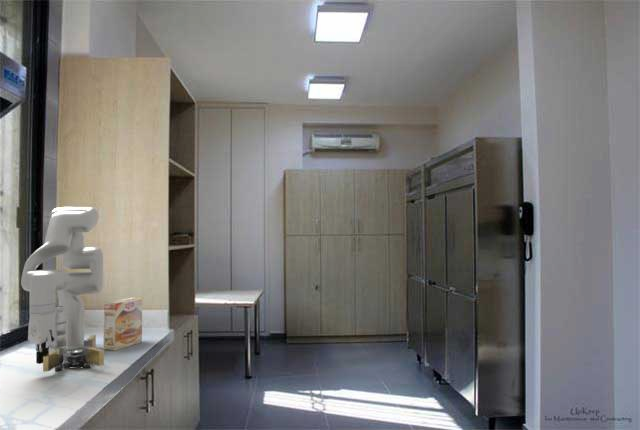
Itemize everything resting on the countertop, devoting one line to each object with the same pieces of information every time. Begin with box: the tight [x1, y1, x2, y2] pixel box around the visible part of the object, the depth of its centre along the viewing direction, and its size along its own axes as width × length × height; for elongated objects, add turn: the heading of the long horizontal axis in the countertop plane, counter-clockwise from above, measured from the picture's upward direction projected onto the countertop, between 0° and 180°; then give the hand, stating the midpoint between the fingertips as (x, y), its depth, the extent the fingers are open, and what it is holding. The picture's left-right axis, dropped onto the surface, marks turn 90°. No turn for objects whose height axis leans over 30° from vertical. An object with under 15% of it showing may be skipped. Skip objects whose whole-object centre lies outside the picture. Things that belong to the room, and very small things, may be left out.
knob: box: [84, 334, 97, 348], centre depth 168 cm, size 11×3×8 cm, turn 17°
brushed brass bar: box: [42, 348, 64, 373], centre depth 148 cm, size 11×3×8 cm, turn 8°
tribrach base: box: [62, 348, 83, 370], centre depth 157 cm, size 9×10×5 cm
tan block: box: [82, 346, 105, 370], centre depth 152 cm, size 11×3×8 cm, turn 57°
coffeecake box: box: [102, 297, 143, 351], centre depth 185 cm, size 15×7×20 cm, turn 158°
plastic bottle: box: [49, 305, 69, 354], centre depth 166 cm, size 6×7×20 cm
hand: (42, 362), depth 147 cm, fingers closed
